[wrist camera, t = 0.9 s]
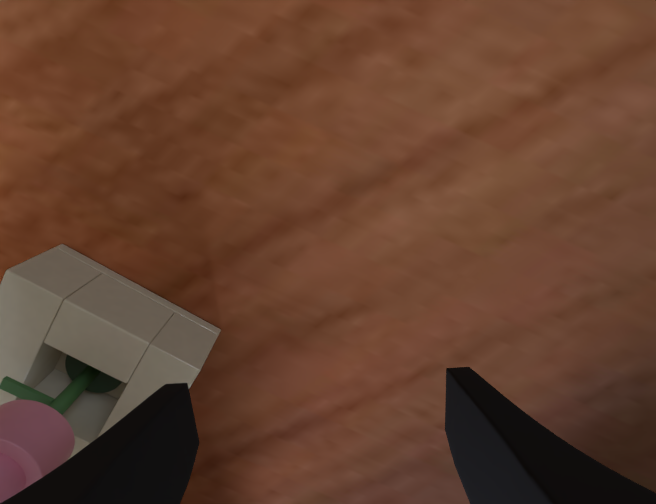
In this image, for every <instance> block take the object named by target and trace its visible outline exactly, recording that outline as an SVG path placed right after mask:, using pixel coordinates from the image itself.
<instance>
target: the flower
mask: <svg viewBox="0 0 656 504" xmlns="http://www.w3.org/2000/svg"><path fill="white" fill-rule="evenodd" d="M65 367H66V371H67V373H68V375H69V377H70V378H71V380H72V382H71V383H70V384H69V385H68V386H67V387H66V388H65V389H64V390H63V391H62V392H61V393H60V394H59V395H58V396H57V397H56V398H55V399H54V398H52V397H50V396H48V395H46V394H44V393H42V392H39V391H37V390H35V389H33V388H31V387H29V386H27V385H25V384H23V383H21V382H18V381H16V380H14V379H12V378H10V377H8V376H6V377H4V378H3V380H2V382H1V384H0V389H2V390H4V391H6V392H8V393H10V394H12V395H14V396H16V397H19V398H21V399H23V400H13V401H10V402H7V403H4V404H2V405H1V406H0V503H2V502H3V501H5V500H7V499H9V498H10V497H12V496H14V495H15V494H17V493H19V492H20V491H22V490H24V489H25V488H27V487H28V486H30V485H31V484H33V483H34V482H36V481H38V480H39V479H41V478H42V477H44V476H45V475H47V474H48V473H50V472H51V471H53V470H54V469H56V468H57V467H59V466H60V465H61V464H63V463H64V462H66V461H67V460H68V458H69V457H70V455H71V454H72V452H73V449H74V445H75V437H74V433H73V430H72V428H71V426H70V424H69V423H68V421H67V420H66V419H65V418H64V417H63V416H62V415H63V413H64V412H65V411H66V410H67V409H68V408H69V407H70V406H71V405H72V403H73V402H74V401H75V400H76V399H77V398H78V397H79V396H80V395H81V394H82V392H83V391H84V390H87V391H90V392H94V393H105V392H109V391H112V390H114V389H116V388H117V387H118V386H119V385H120V384H121V383H122V381H119V380H117V379H115V378H113V377H111V376H109V375H107V374H105V373H103V372H101V371H99V370H97V369H95V368H93V367H91V366H89V365H87V364H85V363H83V362H81V361H79V360H77V359H75V358H73V357H71V356H69V355H67V356H66V360H65Z"/></svg>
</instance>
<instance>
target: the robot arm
mask: <svg viewBox="0 0 656 504" xmlns="http://www.w3.org/2000/svg"><path fill="white" fill-rule="evenodd" d="M445 431H446V435H447V438H448V442H449V446H450V450H451V453H452V457H453V460H454V464H455V467H456V469H457V472H458V474H459V477H460V479H461V482H462V484H463V487H464V489H465V492H466V494H467V497H468V499H469V501H470V504H656V493H654V492H652V491H651V490H649V489H647V488H645V487H643V486H641V485H639V484H637V483H635V482H633V481H631V480H630V479H628V478H626V477H624V476H622V475H620V474H618V473H617V472H615V471H613V470H611V469H609V468H608V467H606V466H604V465H602V464H601V463H599V462H597V461H596V460H594V459H593V458H591V457H589V456H588V455H586V454H584V453H583V452H581V451H579V450H578V449H576V448H574V447H573V446H571V445H570V444H568V443H567V442H565V441H564V440H562V439H561V438H559V437H558V436H556V435H555V434H554V433H552V432H551V431H549V430H548V429H547V428H545V427H544V426H542V425H541V424H539V423H538V422H537V421H535V420H534V419H533V418H531V417H530V416H529V415H527V414H526V413H525V412H523V411H522V410H521V409H520V408H518V407H517V406H516V405H514V404H513V403H512V402H511V401H509V400H508V399H507V398H506V397H504V396H503V395H502V394H501V393H500V392H498V391H497V390H496V389H495V388H494V387H492V386H491V385H490V384H489V383H488V382H486V381H485V380H484V379H483V378H482V377H481V376H479V375H478V374H477V373H476V372H475V371H473V370H472V369H471V368H470V367H460V368H447V370H446V413H445ZM198 446H199V438H198V433H197V428H196V423H195V418H194V413H193V408H192V403H191V398H190V393H189V388H188V383H173V384H165V385H164V386H162V387H161V388H159V389H158V390H157V391H156V392H154V393H153V394H152V395H150V396H149V397H148V398H147V399H146V400H144V401H143V402H142V403H141V404H139V405H138V406H137V407H136V408H134V409H133V410H132V411H131V412H130V413H128V414H127V415H126V416H125V417H123V418H122V419H121V420H120V421H118V422H117V423H116V424H115V425H113V426H112V427H111V428H110V429H108V430H107V431H106V432H105V433H103V434H102V435H101V436H99V437H98V438H97V439H95V440H94V441H93V442H91V443H90V444H89V445H87V446H86V447H85V448H83V449H82V450H81V451H79V452H78V453H77V454H75V455H74V456H73V457H71V458H70V459H69V460H67V461H66V462H64V463H63V464H61V465H60V466H59V467H57V468H56V469H54V470H53V471H51V472H50V473H48V474H47V475H45V476H44V477H42V478H41V479H39V480H38V481H36V482H34V483H33V484H31V485H30V486H28V487H27V488H25V489H24V490H22V491H20V492H19V493H17V494H15V495H14V496H12V497H10V498H9V499H7V500H5V501H3V502H2V503H0V504H180V502H181V500H182V497H183V495H184V492H185V489H186V487H187V484H188V482H189V479H190V476H191V472H192V469H193V465H194V462H195V458H196V454H197V450H198Z"/></svg>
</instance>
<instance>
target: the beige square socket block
mask: <svg viewBox="0 0 656 504" xmlns="http://www.w3.org/2000/svg"><path fill="white" fill-rule="evenodd" d="M220 332H221V329H219V328H217V327H215V326H214V325H212V324H210V323H208V322H206V321H204V320H203V319H201V318H199V317H197V316H195V315H193V314H191V313H190V312H188V311H186V310H184V309H182V308H180V307H179V306H177V305H175V304H173V303H171V302H169V301H167V300H166V299H164V298H162V297H160V296H158V295H156V294H154V293H153V292H151V291H149V290H147V289H145V288H143V287H142V286H140V285H138V284H136V283H134V282H132V281H130V280H129V279H127V278H125V277H123V276H121V275H119V274H118V273H116V272H114V271H112V270H110V269H108V268H106V267H105V266H103V265H101V264H99V263H97V262H95V261H94V260H92V259H90V258H88V257H86V256H84V255H82V254H81V253H79V252H77V251H75V250H73V249H71V248H70V247H68V246H66V245H64V244H60V245H58V246H56V247H54V248H52V249H50V250H47V251H45V252H43V253H41V254H39V255H37V256H35V257H33V258H30V259H28V260H26V261H24V262H22V263H20V264H18V265H15V266H13V267H11V268H9V269H7V270H6V272H5V274H4V277H3V279H2V281H1V284H0V384H1V382H2V380H3V378H4V377H6V376H8V377H10V378H12V379H14V380H16V381H18V382H21V383H23V384H25V385H27V386H29V387H31V388H33V389H35V390H37V391H39V392H42V393H44V394H46V395H48V396H50V397H52V398H54V399H55V398H56V397H57V396H58V395H59V394H60V393H61V392H62V391H63V390H64V389H65V388H66V387H67V386H68V385H69V384H70V383H71V382H72V380H71V378H70V377H69V375H68V373H67V371H66V367H65V360H66V356H67V355H69V356H71V357H73V358H75V359H77V360H79V361H81V362H83V363H85V364H87V365H89V366H91V367H93V368H95V369H97V370H99V371H101V372H103V373H105V374H107V375H109V376H111V377H113V378H115V379H117V380H119V381H122V383H121V384H120V385H119V386H118V387H117V388H116V389H114V390H112V391H109V392H105V393H94V392H90V391H87V390H84V391H83V392H82V394H81V395H80V396H79V397H78V398H77V399H76V400H75V401H74V402H73V403H72V405H71V406H70V407H69V408H68V409H67V410H66V411H65V412H64V413H63V415H62V416H63V417H64V418H65V419H66V420H67V421H68V423H69V424H70V426H71V428H72V430H73V433H74V437H75V445H74V449H73V452H72V454H71V455H70V457H69V458H68V460H69V459H70V458H71V457H73V456H74V455H75V454H77V453H78V452H79V451H81V450H82V449H83V448H85V447H86V446H87V445H89V444H90V443H91V442H93V441H94V440H95V439H97V438H98V437H99V436H101V435H102V434H103V433H105V432H106V431H107V430H108V429H110V428H111V427H112V426H113V425H115V424H116V423H117V422H118V421H120V420H121V419H122V418H123V417H125V416H126V415H127V414H128V413H130V412H131V411H132V410H133V409H134V408H136V407H137V406H138V405H139V404H141V403H142V402H143V401H144V400H146V399H147V398H148V397H149V396H150V395H152V394H153V393H154V392H156V391H157V390H158V389H159V388H161V387H162V386H164V385H165V384H173V383H188V388H190V387H191V385H192V383H193V382H194V380H195V379H196V377H197V375H198V374H199V372H200V371H201V369H202V367H203V365H204V363H205V361H206V359H207V357H208V355H209V353H210V351H211V349H212V347H213V345H214V343H215V341H216V339H217V337H218V335H219V334H220ZM13 400H23V399H21V398H19V397H16V396H14V395H12V394H10V393H8V392H6V391H4V390H2V389H0V406H1V405H2V404H4V403H7V402H10V401H13Z"/></svg>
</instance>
